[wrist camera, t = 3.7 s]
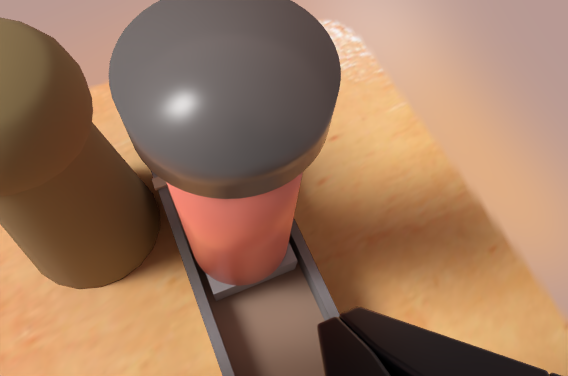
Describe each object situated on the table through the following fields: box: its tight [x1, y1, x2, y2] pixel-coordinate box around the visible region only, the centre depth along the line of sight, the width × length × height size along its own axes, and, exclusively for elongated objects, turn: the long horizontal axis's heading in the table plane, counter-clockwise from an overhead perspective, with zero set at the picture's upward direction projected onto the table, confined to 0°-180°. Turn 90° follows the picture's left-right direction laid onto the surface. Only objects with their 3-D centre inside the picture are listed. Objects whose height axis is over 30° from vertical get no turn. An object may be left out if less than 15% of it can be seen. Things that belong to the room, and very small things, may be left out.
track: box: [151, 171, 340, 376], centre depth 20 cm, size 16×5×2 cm, turn 24°
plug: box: [109, 0, 341, 301], centre depth 15 cm, size 5×5×12 cm
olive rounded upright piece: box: [0, 18, 160, 289], centre depth 17 cm, size 6×6×11 cm
